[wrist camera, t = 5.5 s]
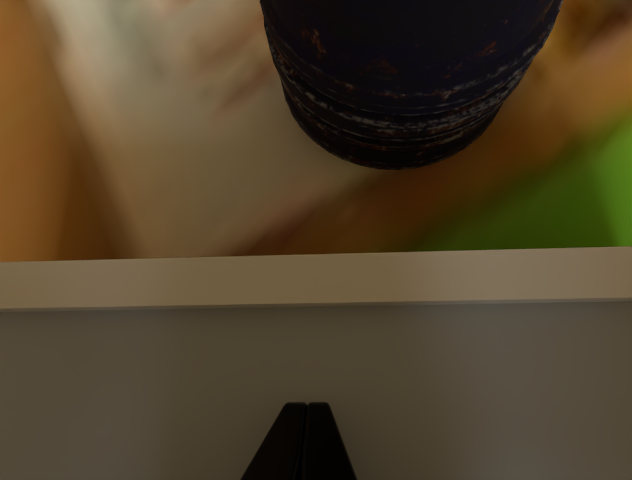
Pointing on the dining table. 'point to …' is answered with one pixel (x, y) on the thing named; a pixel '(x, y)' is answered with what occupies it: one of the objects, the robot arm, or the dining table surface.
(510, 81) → the storage jar
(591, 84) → the dining table surface
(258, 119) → the dining table surface
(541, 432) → the duct cover
